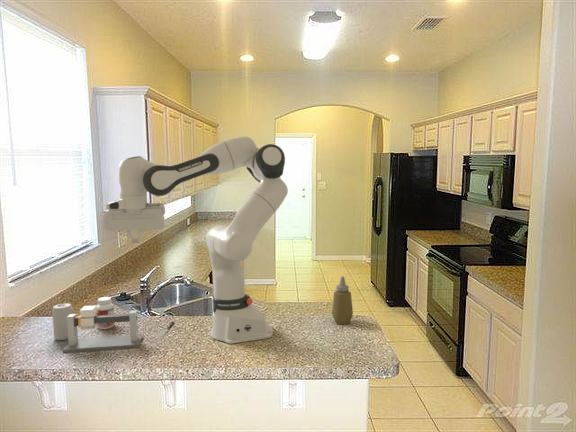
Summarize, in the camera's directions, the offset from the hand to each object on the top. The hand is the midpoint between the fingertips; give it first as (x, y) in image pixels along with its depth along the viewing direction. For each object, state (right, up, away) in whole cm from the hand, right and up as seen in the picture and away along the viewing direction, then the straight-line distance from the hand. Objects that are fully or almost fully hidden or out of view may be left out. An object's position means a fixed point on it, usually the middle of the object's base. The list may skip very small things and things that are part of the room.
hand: (136, 242), depth 153 cm
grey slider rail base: (-10, -35, -4) cm, 36 cm away
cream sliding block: (-14, -29, -5) cm, 32 cm away
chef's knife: (+7, -34, +7) cm, 36 cm away
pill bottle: (-16, -33, +13) cm, 39 cm away
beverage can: (-27, -35, +3) cm, 44 cm away
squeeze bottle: (+75, -32, +15) cm, 83 cm away
